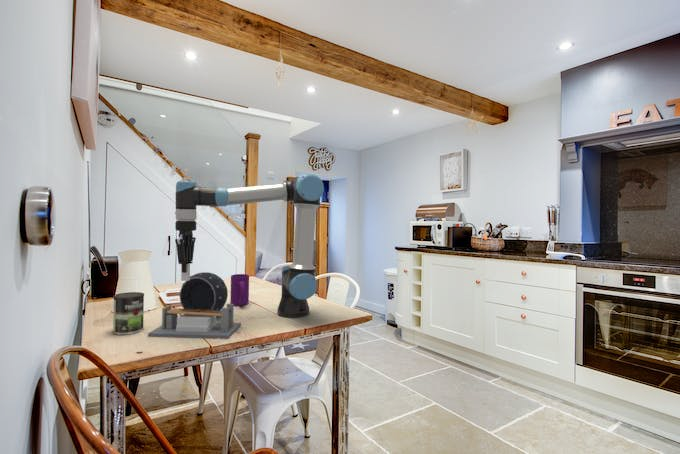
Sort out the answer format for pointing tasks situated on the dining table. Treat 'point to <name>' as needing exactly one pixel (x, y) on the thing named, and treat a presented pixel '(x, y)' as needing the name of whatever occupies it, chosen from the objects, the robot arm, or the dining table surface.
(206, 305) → the black short cylinder
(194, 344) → the dining table surface
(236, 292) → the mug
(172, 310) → the strap
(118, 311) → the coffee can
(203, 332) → the grey fixture stand
